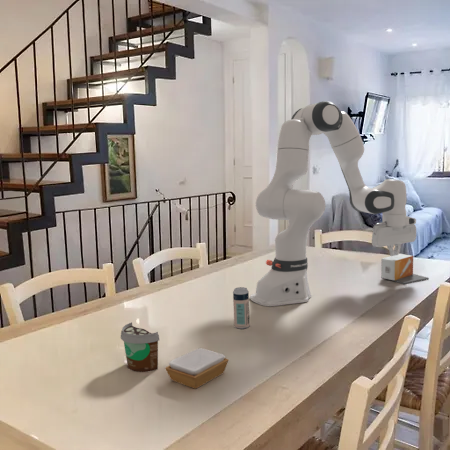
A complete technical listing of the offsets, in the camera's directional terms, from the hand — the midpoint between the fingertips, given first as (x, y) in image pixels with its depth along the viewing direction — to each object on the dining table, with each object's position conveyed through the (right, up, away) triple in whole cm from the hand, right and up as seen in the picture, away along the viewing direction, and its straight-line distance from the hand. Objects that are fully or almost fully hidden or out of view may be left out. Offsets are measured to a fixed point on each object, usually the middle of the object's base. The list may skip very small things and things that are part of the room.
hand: (393, 255), depth 203 cm
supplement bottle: (-61, -20, -44) cm, 78 cm away
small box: (-2, -6, +1) cm, 6 cm away
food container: (-89, -25, -71) cm, 116 cm away
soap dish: (-73, -25, -78) cm, 110 cm away
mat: (+6, -10, +4) cm, 12 cm away
